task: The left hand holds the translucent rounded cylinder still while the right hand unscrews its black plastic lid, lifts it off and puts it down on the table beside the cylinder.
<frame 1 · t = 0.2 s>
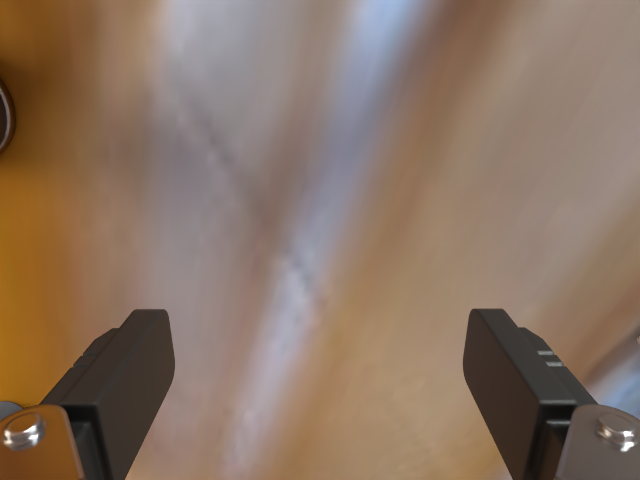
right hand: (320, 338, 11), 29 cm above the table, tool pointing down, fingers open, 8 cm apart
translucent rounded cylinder: (9, 415, 49), on the table
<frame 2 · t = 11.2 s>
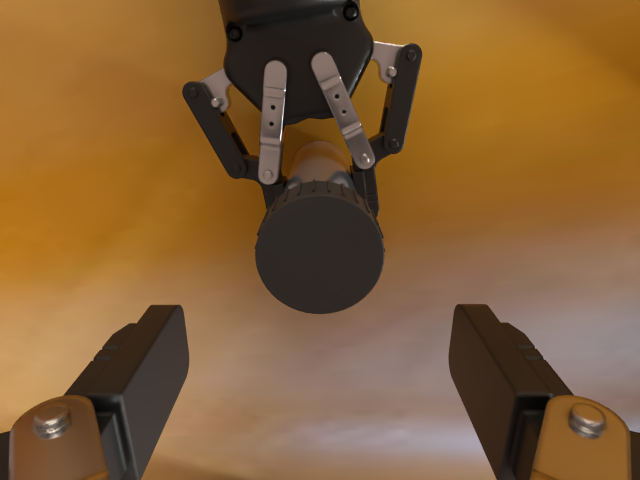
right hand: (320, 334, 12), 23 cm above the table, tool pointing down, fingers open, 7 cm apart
left hand: (327, 228, 28), fingers closed on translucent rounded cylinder, 4 cm apart
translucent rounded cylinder: (319, 168, 33), on the table, touching left hand
lid: (319, 254, 17), point 17 cm above the table, screwed on, not yet turned
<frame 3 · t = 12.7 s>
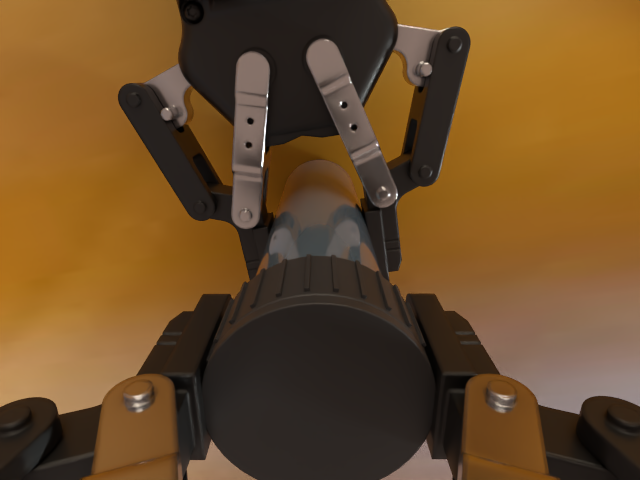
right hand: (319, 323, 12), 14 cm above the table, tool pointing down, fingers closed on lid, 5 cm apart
left hand: (329, 283, 20), fingers closed on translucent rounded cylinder, 4 cm apart
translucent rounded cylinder: (319, 194, 26), on the table, touching left hand
lid: (318, 396, 9), point 17 cm above the table, screwed on, not yet turned, touching right hand
when the right hand's fingers open (15 cm above the table, at t = 14.0 s): lid stays where it is, point 18 cm above the table.
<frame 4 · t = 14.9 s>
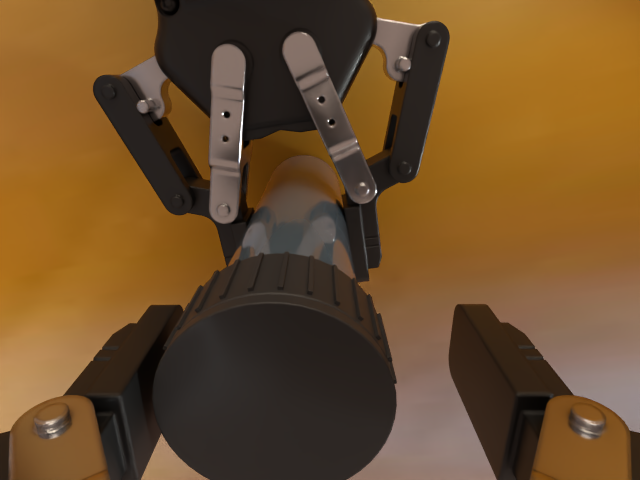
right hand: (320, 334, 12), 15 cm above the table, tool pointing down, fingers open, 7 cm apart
left hand: (309, 279, 20), fingers closed on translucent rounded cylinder, 4 cm apart
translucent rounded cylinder: (304, 190, 25), on the table, touching left hand
lid: (276, 397, 9), point 18 cm above the table, turned 45° so far, risen 0.1 cm, still on its thread
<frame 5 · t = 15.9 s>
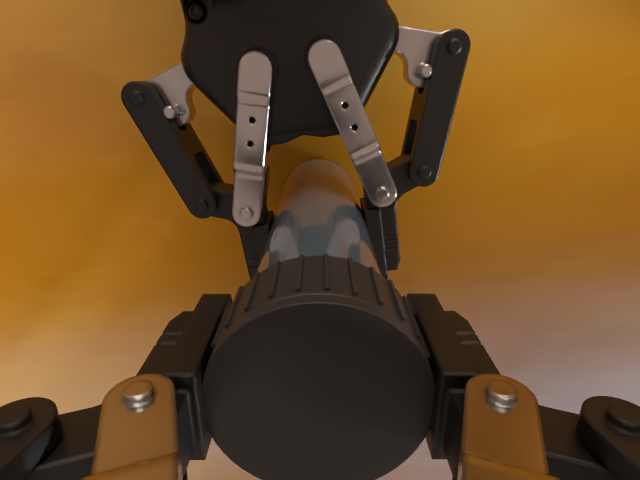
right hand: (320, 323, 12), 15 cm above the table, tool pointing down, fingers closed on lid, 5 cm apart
left hand: (328, 282, 21), fingers closed on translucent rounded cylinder, 4 cm apart
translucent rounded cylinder: (319, 193, 26), on the table, touching left hand
lid: (318, 395, 9), point 18 cm above the table, turned 45° so far, risen 0.1 cm, still on its thread, touching right hand
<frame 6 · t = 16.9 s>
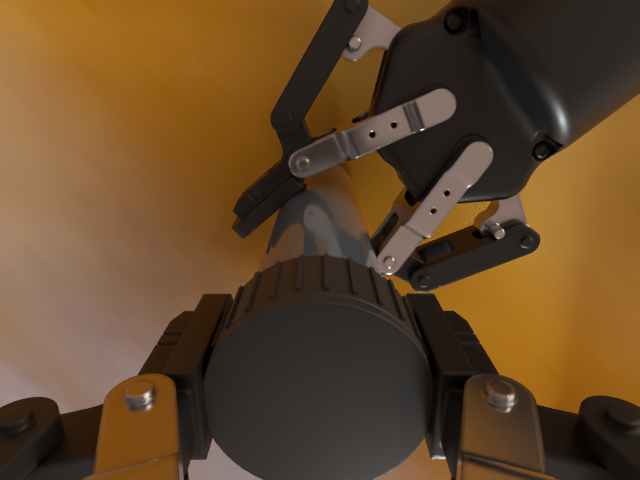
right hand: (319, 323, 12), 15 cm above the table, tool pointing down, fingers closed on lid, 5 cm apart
left hand: (276, 263, 20), fingers closed on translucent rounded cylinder, 4 cm apart
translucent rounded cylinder: (319, 193, 26), on the table, touching left hand
lid: (318, 394, 9), point 18 cm above the table, turned 102° so far, risen 0.3 cm, still on its thread, touching right hand
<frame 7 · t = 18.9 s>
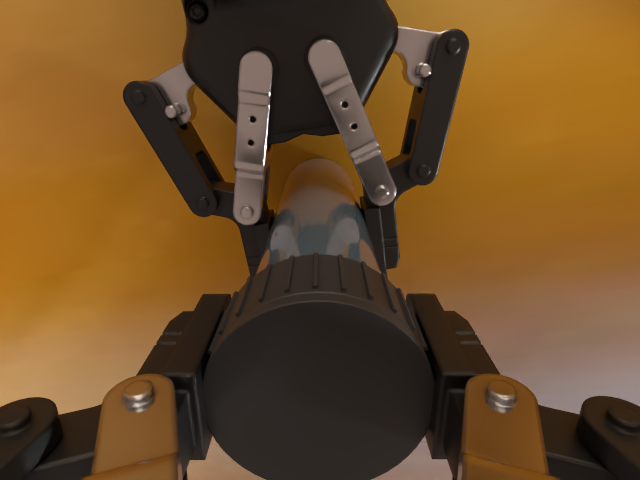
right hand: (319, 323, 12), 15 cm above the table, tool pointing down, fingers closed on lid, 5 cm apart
left hand: (328, 280, 21), fingers closed on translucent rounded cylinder, 4 cm apart
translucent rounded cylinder: (319, 193, 26), on the table, touching left hand
lid: (318, 393, 9), point 18 cm above the table, turned 90° so far, risen 0.3 cm, still on its thread, touching right hand
when the right hand's fingers open (0 cm above the table, at t = 25.1 s): lid drops 1 cm, point 2 cm above the table.
when the left hand's fingers open (7 cm above the table, at t = 26.1 s): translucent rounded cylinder stays where it is, on the table.
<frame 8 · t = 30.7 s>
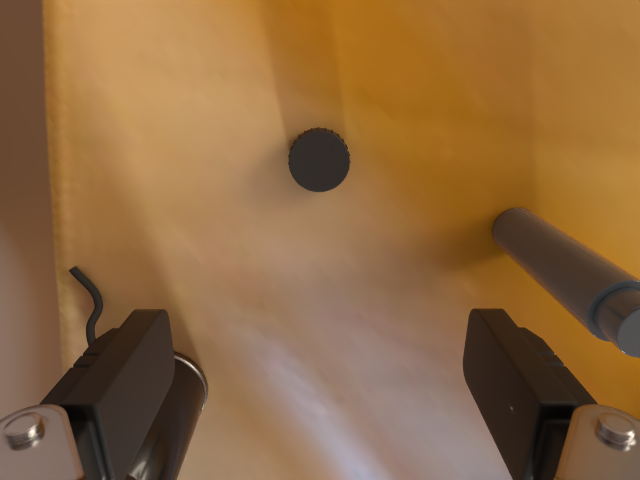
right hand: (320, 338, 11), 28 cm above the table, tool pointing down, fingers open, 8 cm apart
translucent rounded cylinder: (514, 229, 40), on the table
lid: (319, 161, 35), point 2 cm above the table, off its thread
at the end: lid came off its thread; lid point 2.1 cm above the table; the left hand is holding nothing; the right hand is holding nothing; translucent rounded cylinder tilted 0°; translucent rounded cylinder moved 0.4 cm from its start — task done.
